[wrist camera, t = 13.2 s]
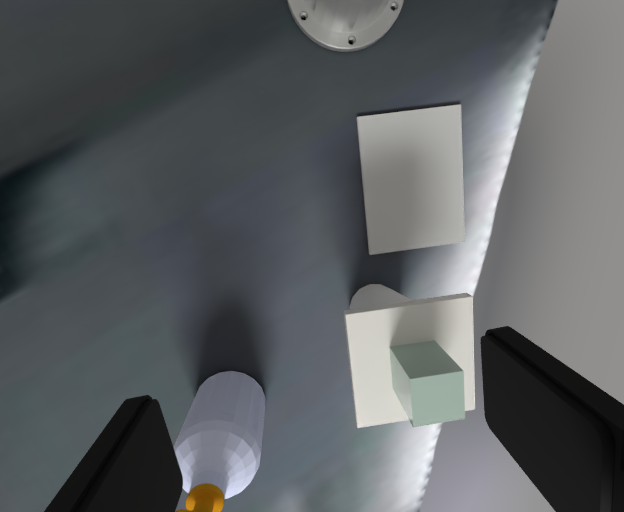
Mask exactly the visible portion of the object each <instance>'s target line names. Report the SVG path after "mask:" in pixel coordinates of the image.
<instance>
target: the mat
mask: <svg viewBox="0 0 624 512" xmlns="http://www.w3.org/2000/svg"><path fill="white" fill-rule="evenodd" d="M357 128H358V139H359V150H360V161H361V172H362V183H363V194H364V205H365V216H366V227H367V238H368V249H369V255H374V254H381V253H388V252H395V251H403V250H410V249H417V248H424V247H431V246H438V245H446V244H453V243H460V242H465V227H464V193H463V159H462V125H461V104H460V105H452V106H443V107H435V108H427V109H418V110H410V111H402V112H394V113H385V114H377V115H369V116H361V117H357Z"/></svg>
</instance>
